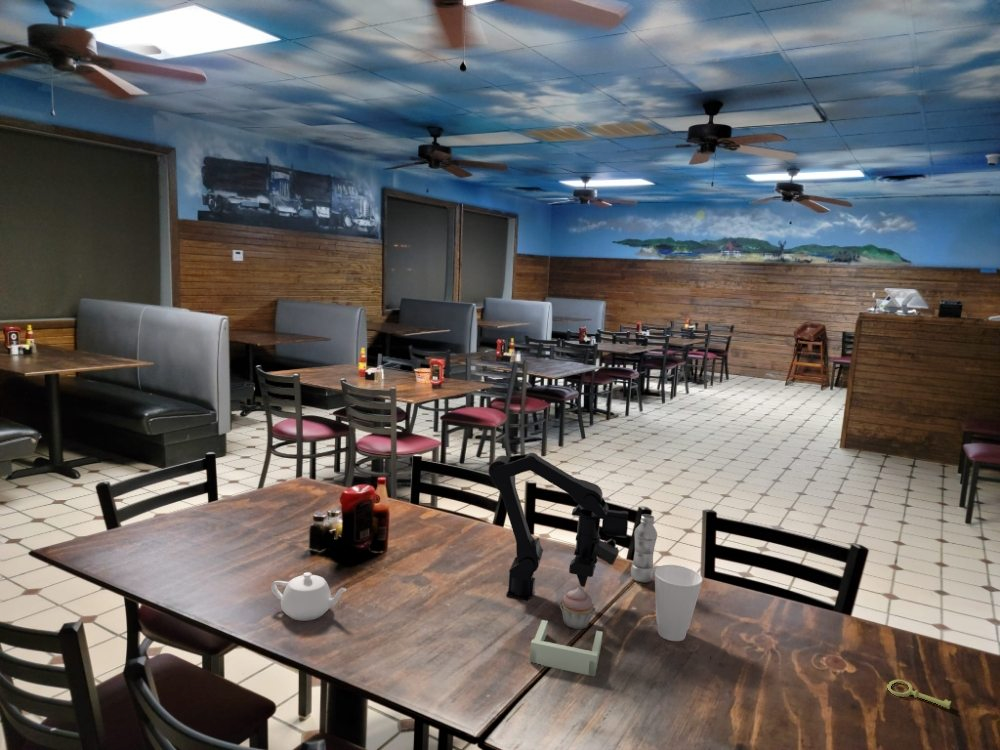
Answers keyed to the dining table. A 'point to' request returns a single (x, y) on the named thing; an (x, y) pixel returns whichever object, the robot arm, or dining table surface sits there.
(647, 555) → the plastic bottle
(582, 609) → the cupcake
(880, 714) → the dining table surface
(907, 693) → the key
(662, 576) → the cup
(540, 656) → the pocket
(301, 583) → the teapot
